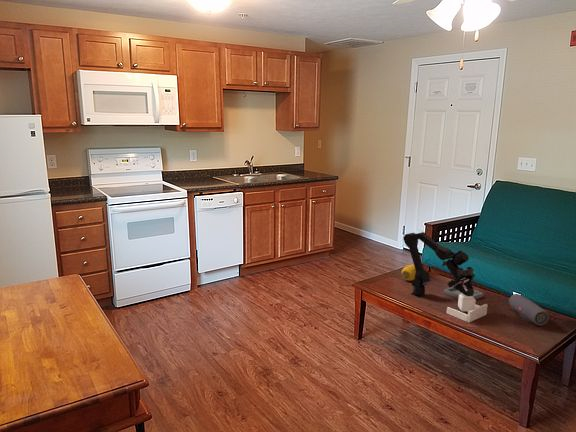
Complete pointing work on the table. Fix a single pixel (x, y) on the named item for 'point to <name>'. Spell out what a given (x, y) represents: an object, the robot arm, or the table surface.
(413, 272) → the lantern
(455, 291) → the tray
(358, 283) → the table surface
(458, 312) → the bay
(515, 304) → the bluetooth speaker
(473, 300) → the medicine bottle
